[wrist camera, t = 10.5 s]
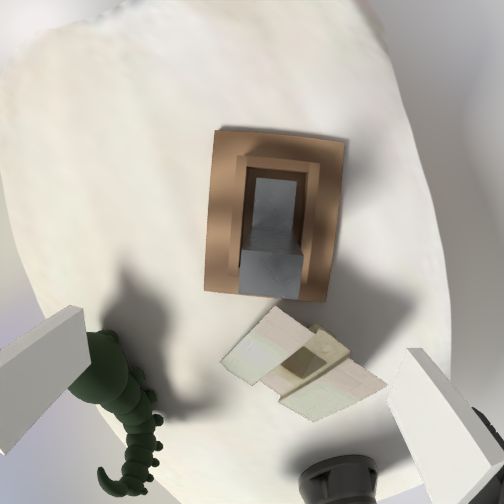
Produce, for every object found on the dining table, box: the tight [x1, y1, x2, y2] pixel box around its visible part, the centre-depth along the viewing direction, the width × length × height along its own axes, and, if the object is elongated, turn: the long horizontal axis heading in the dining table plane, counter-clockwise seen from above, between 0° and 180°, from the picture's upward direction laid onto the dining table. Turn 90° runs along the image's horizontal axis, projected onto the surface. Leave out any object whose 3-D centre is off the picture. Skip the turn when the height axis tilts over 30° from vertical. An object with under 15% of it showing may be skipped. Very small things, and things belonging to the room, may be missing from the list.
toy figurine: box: [67, 330, 164, 497], centre depth 29 cm, size 9×19×25 cm
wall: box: [220, 306, 388, 422], centre depth 33 cm, size 16×9×15 cm
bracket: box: [238, 178, 304, 300], centre depth 25 cm, size 8×4×13 cm, turn 175°
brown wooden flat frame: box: [204, 130, 344, 302], centre depth 30 cm, size 18×14×4 cm
